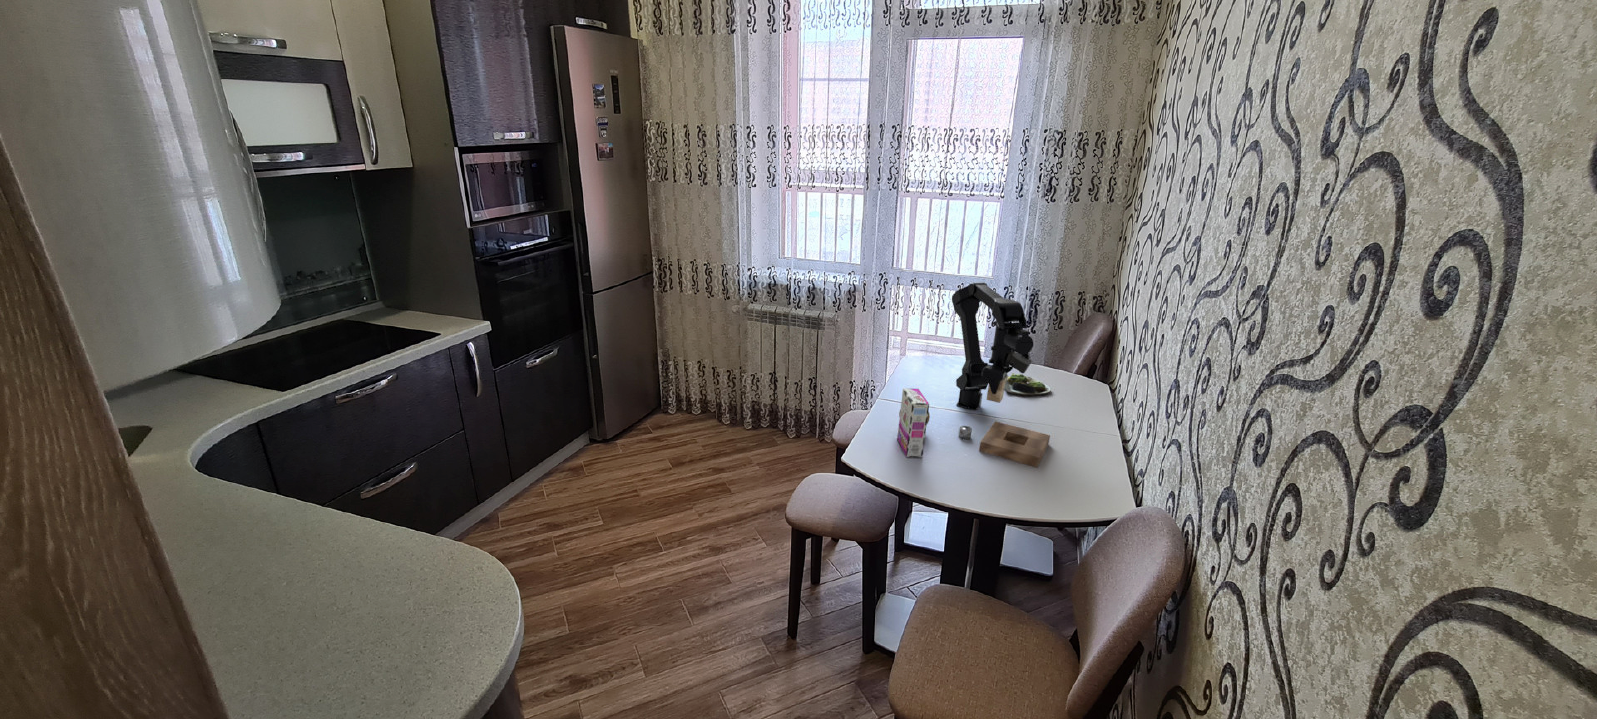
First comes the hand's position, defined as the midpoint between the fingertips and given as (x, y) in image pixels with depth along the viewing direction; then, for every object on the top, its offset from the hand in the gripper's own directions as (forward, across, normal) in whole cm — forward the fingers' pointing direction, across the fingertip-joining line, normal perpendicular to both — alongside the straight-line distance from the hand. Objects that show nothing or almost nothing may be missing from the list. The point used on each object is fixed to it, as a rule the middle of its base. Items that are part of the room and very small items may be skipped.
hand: (995, 391), depth 188 cm
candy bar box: (+11, -30, +15) cm, 35 cm away
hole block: (+11, -12, -10) cm, 19 cm away
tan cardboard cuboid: (+2, 0, 0) cm, 2 cm away
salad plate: (+12, +36, -2) cm, 38 cm away
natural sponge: (+11, -20, +18) cm, 29 cm away
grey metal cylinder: (+11, -14, +4) cm, 18 cm away
